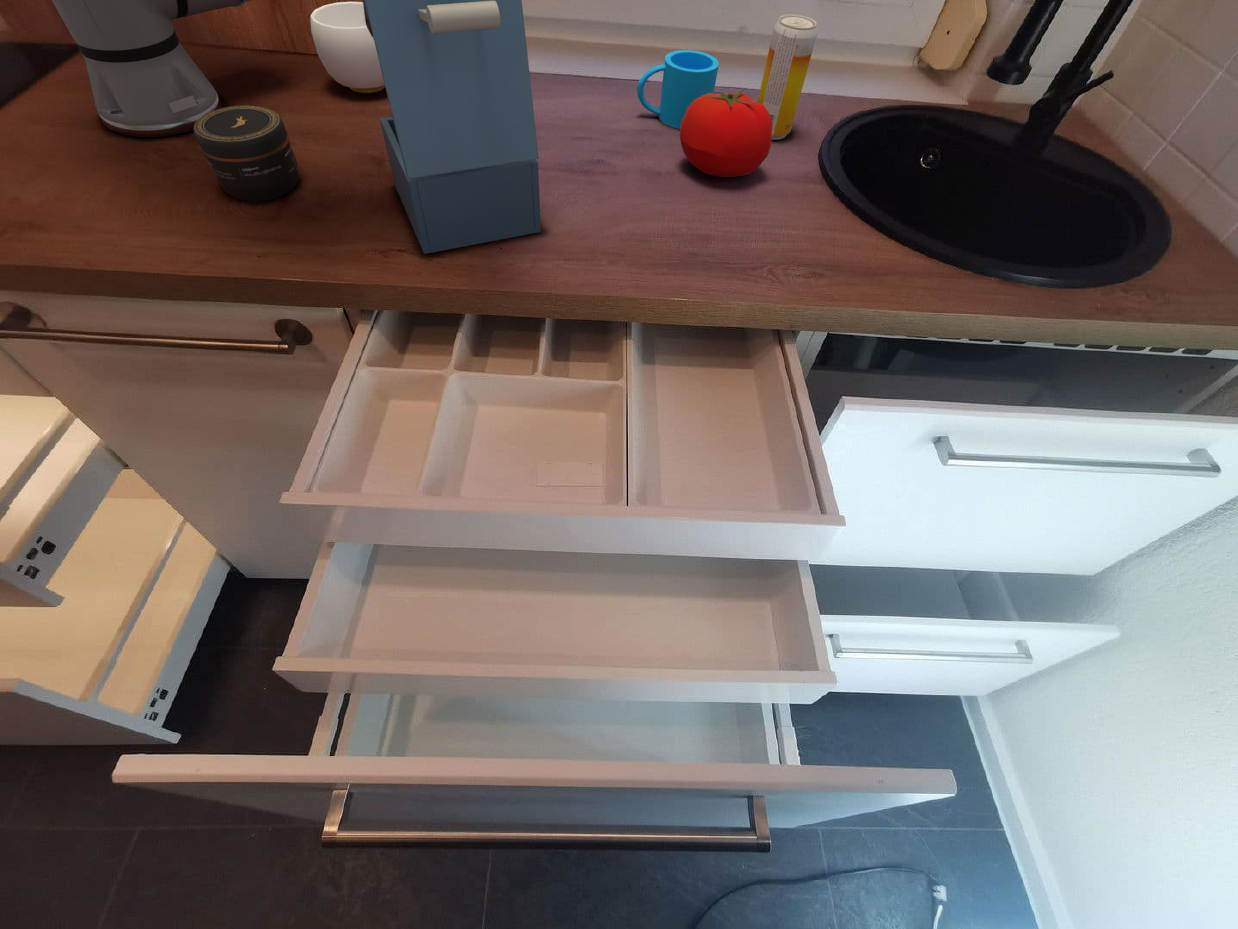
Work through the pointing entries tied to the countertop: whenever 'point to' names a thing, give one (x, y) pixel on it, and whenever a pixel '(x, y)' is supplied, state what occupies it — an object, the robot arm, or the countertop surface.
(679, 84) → the mug
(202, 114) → the robot arm
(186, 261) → the countertop surface
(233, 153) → the jar
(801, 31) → the beer can
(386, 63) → the cap lid
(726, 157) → the tomato
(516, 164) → the cap box
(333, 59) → the cup
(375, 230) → the countertop surface
